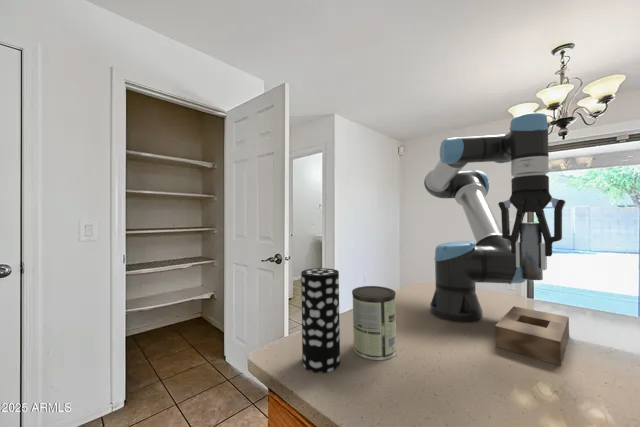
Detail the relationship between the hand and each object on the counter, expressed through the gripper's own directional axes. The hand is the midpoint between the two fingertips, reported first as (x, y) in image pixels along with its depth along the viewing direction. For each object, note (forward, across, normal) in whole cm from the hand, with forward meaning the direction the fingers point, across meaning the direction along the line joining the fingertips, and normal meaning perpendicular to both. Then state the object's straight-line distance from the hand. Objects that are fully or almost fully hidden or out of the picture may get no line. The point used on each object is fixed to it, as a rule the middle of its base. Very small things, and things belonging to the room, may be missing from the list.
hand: (531, 267), depth 69 cm
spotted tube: (+19, -30, -45) cm, 57 cm away
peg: (+3, 0, 0) cm, 3 cm away
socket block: (+19, 0, 0) cm, 19 cm away
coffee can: (+19, -25, -32) cm, 45 cm away
